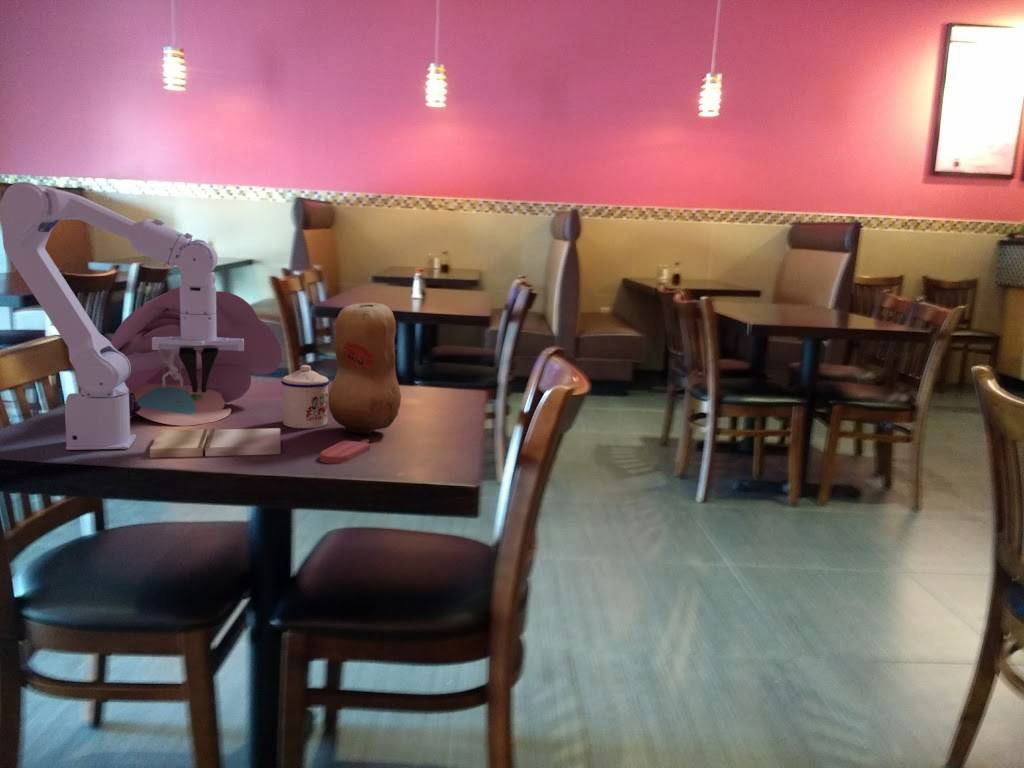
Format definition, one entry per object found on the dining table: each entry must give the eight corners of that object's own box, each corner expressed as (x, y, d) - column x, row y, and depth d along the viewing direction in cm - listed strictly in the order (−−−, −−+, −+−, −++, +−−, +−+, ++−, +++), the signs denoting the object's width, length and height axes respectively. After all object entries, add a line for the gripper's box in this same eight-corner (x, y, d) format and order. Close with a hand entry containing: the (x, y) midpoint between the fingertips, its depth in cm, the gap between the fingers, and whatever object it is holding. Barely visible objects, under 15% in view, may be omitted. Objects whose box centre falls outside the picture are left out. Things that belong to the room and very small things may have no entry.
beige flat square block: (205, 456, 130) (205, 446, 130) (211, 437, 141) (210, 429, 141) (280, 454, 133) (280, 445, 133) (280, 436, 145) (280, 427, 144)
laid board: (150, 457, 127) (149, 448, 127) (160, 438, 139) (160, 429, 138) (202, 456, 130) (202, 447, 129) (208, 437, 141) (208, 429, 141)
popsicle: (380, 437, 144) (342, 458, 129) (380, 446, 144) (341, 467, 130) (354, 434, 145) (313, 454, 131) (353, 442, 145) (313, 463, 131)
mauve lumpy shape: (150, 464, 140) (156, 315, 130) (56, 421, 148) (56, 276, 138) (279, 410, 171) (292, 286, 161) (196, 377, 179) (204, 256, 169)
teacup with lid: (312, 431, 150) (312, 371, 147) (271, 425, 152) (271, 366, 150) (344, 419, 161) (345, 363, 159) (306, 413, 164) (306, 358, 161)
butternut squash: (316, 437, 145) (318, 303, 141) (342, 421, 158) (344, 298, 154) (388, 444, 144) (392, 308, 139) (408, 427, 157) (412, 303, 152)
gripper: (148, 314, 127) (150, 396, 129) (242, 316, 131) (243, 395, 134) (154, 309, 134) (156, 387, 136) (244, 312, 138) (244, 387, 140)
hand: (199, 391), depth 135 cm, fingers closed
